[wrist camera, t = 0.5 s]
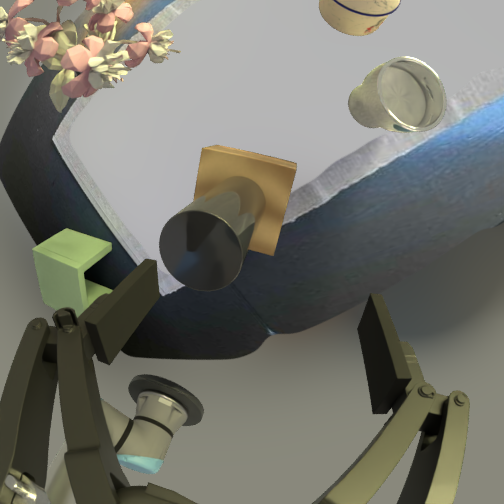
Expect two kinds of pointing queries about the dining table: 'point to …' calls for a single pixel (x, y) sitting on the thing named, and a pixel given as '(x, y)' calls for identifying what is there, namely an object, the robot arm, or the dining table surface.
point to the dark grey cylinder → (213, 234)
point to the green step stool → (69, 269)
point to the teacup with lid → (356, 14)
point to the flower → (79, 47)
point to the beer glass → (399, 97)
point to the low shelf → (261, 172)
